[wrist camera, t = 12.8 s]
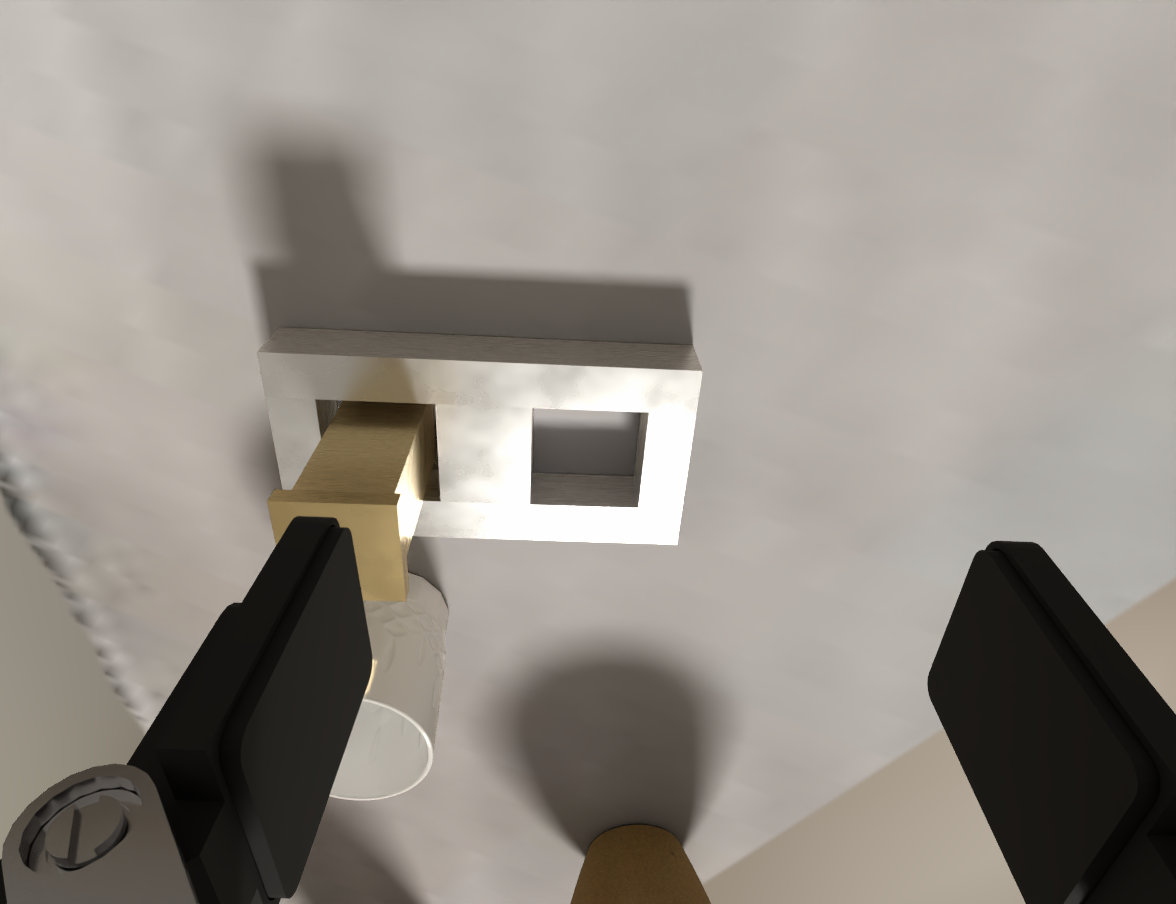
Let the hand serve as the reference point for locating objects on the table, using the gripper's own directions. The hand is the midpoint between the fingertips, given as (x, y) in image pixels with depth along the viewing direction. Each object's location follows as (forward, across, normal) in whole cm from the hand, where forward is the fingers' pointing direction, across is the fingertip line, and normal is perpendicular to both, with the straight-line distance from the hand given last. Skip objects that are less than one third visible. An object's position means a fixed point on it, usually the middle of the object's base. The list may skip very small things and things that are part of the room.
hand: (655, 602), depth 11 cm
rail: (+25, +6, +11) cm, 28 cm away
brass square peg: (+25, +11, +11) cm, 29 cm away
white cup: (+25, +13, +24) cm, 37 cm away
